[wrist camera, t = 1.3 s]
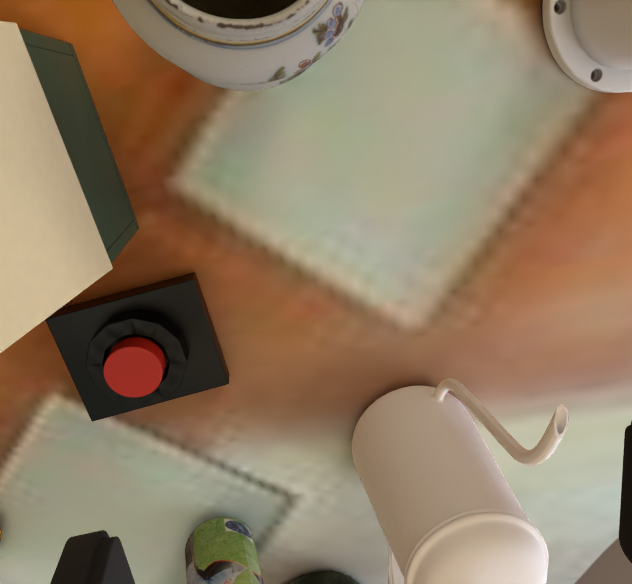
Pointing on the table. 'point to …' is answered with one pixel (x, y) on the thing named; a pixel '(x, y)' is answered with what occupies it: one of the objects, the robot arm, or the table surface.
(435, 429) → the coffeepot
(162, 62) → the table surface
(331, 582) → the mug
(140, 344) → the button
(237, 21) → the apothecary jar
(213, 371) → the switch block
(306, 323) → the table surface
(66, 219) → the lid
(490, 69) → the table surface
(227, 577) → the beverage can
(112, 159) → the box
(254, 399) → the table surface
